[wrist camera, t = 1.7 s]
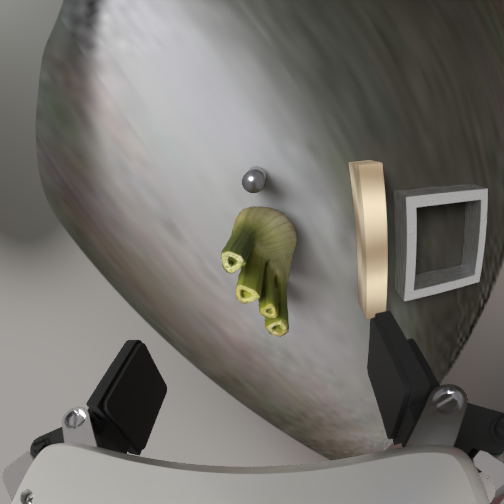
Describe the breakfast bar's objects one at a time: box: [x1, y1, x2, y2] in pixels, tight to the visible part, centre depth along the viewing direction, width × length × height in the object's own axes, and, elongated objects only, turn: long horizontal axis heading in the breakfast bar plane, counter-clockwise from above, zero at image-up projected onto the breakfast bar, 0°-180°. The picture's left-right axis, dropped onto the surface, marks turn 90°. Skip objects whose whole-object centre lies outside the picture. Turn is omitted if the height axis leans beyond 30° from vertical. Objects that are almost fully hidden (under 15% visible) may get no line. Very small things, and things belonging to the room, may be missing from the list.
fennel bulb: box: [221, 207, 297, 337], centre depth 19 cm, size 6×5×12 cm
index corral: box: [393, 183, 488, 301], centre depth 22 cm, size 10×10×3 cm
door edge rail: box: [349, 160, 388, 319], centre depth 23 cm, size 14×2×3 cm, turn 11°
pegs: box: [242, 167, 266, 193], centre depth 23 cm, size 12×2×4 cm, turn 11°
